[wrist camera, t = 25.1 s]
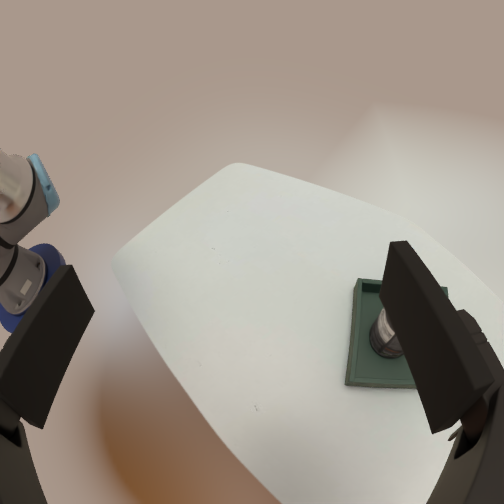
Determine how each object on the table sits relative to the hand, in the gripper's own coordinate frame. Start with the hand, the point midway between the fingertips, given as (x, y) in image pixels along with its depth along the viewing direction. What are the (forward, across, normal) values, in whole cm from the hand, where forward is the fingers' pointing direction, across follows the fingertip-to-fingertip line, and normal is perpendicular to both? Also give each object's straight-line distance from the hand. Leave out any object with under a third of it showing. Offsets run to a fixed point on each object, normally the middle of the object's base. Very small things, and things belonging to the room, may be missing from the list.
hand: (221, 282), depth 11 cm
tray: (+13, +18, -22) cm, 31 cm away
